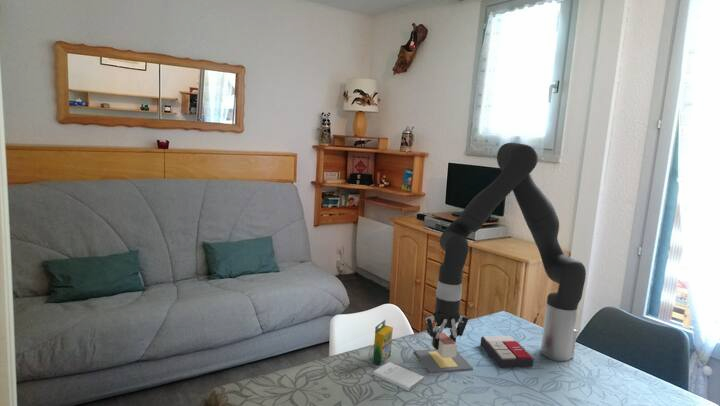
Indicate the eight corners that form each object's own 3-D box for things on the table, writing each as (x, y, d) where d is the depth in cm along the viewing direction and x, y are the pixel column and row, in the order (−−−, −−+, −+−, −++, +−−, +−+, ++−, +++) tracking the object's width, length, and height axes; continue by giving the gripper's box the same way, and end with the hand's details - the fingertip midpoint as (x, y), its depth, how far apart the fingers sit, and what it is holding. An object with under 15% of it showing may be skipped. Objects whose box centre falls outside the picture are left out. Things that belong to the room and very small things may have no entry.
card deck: (455, 357, 136) (457, 344, 135) (442, 357, 135) (443, 345, 134) (444, 343, 144) (445, 332, 144) (431, 344, 143) (432, 332, 142)
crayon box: (381, 365, 134) (383, 329, 133) (372, 363, 136) (374, 327, 134) (391, 356, 141) (393, 321, 139) (382, 353, 142) (385, 319, 140)
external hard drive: (408, 393, 122) (372, 376, 129) (424, 381, 128) (389, 366, 136) (409, 387, 121) (373, 370, 129) (424, 376, 128) (389, 361, 136)
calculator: (501, 358, 137) (481, 334, 151) (499, 370, 138) (479, 345, 152) (534, 357, 139) (511, 333, 153) (532, 369, 140) (509, 345, 154)
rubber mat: (454, 349, 148) (454, 347, 148) (472, 369, 135) (473, 367, 135) (414, 351, 144) (414, 350, 144) (429, 372, 132) (429, 370, 132)
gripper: (431, 300, 131) (426, 355, 134) (475, 299, 135) (470, 352, 137) (422, 291, 139) (417, 343, 141) (464, 291, 142) (459, 341, 144)
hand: (443, 347), depth 139 cm, fingers closed on card deck, 4 cm apart
